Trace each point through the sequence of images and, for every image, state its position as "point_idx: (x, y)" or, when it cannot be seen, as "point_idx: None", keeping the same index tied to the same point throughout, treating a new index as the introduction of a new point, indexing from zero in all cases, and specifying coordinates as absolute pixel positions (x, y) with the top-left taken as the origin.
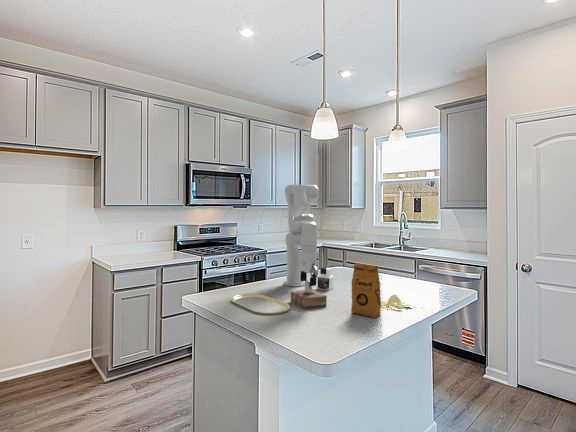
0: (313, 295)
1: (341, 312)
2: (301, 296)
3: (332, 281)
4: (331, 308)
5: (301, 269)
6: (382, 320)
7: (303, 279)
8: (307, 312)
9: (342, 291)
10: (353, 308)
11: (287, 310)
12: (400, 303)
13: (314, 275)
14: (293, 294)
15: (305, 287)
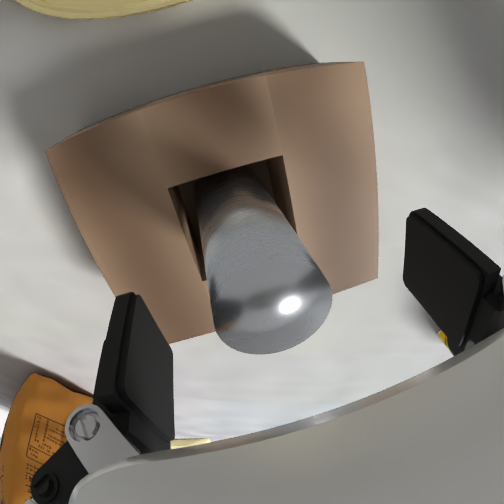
0: (155, 259)
1: (47, 339)
2: (117, 129)
3: None
4: (109, 313)
5: (491, 367)
6: (8, 412)
7: (417, 255)
8: (12, 153)
9: (398, 376)
10: (24, 391)
11: (35, 7)
12: None
13: (44, 466)
14: (294, 69)
15: (235, 220)
